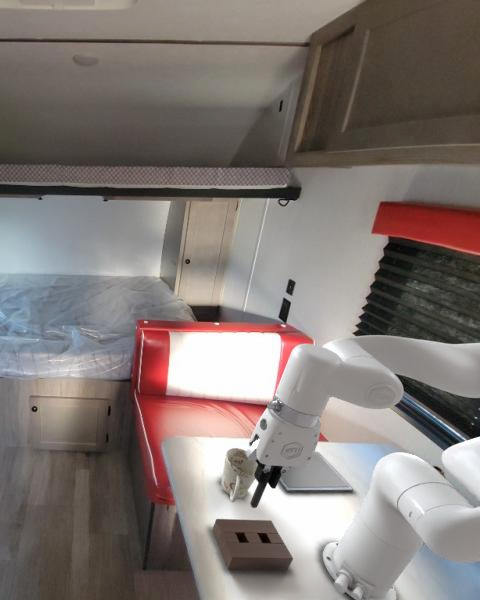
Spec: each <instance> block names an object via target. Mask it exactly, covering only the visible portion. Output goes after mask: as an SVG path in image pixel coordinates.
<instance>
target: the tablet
mask: <svg viewBox="0 0 480 600" xmlns="http://www.w3.org/2000/svg"><path fill="white" fill-rule="evenodd" d="M278 483H279V484H280V485H281V487H282V488H283V490H284V491H285V492H286V493H326V492H327V493H337V492H338V493H339V492H341V493H345V492H346V493H347V492H348V493H349V492H351V493H352V492H354V488H352V486H351V485H349V483H348V482H347V481H346V480H345V479H344V478H343V477H342V476H341V475H340V474H339V473H338V472H337V471H336V470H335V468H334V467H333V466H332V465H331V464H330V463H329V462H328V461H327V459H325V457H324V456H323V455H321V453H320V452H314V454H313V456H312V459H311V461H310V463H309V464H308V465H307V466H304V467H290V468H288V470H287V472H286V473H285V474H281V477H280V479H279V482H278Z"/></svg>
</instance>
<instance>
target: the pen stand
mask: <svg viewBox="0 0 480 600" xmlns="http://www.w3.org/2000/svg"><path fill="white" fill-rule="evenodd" d="M211 530H212V533H213V536H214V538H215V541H216V544H217V546H218V548H219V551H220V554H221V556H222V559H223V561H224V563H225V566H226V568H227V570H252V571H253V570H256V571H288V570H289V568H290V566H291V564H292V562H293V560H294V557H293V556H292V553H291V552H290V550H289V549H288V547H287V545H286V544H285V542H284V540H283V538H282V536H281V534H280V533H279V531H278V530H277V528H276V526H275V525H274V523H273V520H266V519H234V518H233V519H232V518H216V519H215V522H214V524H213V527H212V529H211Z"/></svg>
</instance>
